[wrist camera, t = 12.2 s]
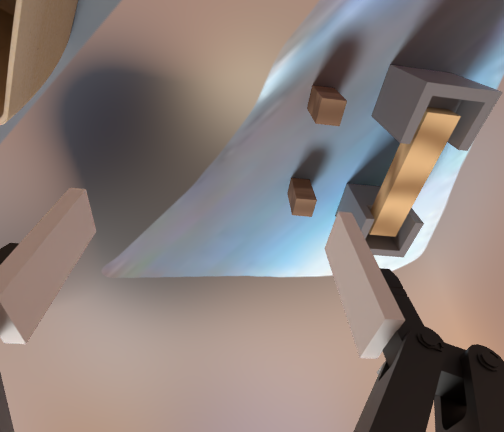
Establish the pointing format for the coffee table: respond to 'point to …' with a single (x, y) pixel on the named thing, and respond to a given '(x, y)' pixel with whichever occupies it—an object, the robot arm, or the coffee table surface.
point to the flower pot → (30, 47)
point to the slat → (411, 170)
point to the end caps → (403, 129)
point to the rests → (323, 112)
